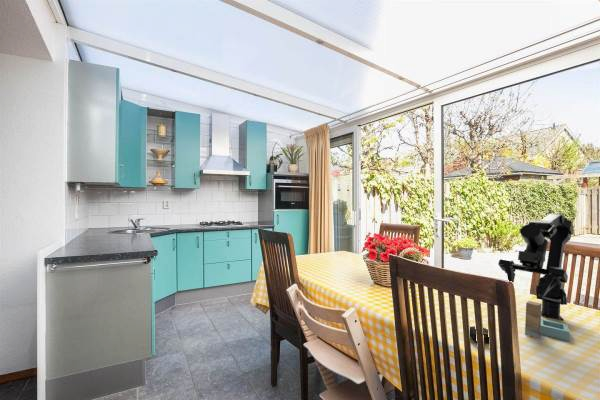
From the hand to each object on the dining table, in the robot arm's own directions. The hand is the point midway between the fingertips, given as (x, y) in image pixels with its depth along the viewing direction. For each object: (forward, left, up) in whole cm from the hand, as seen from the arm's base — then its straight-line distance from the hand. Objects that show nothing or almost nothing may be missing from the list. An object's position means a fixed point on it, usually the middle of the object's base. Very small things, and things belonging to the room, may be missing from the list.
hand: (525, 292), depth 102 cm
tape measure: (+13, -15, -15) cm, 25 cm away
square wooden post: (-2, +3, -15) cm, 15 cm away
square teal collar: (-7, +10, -15) cm, 19 cm away
